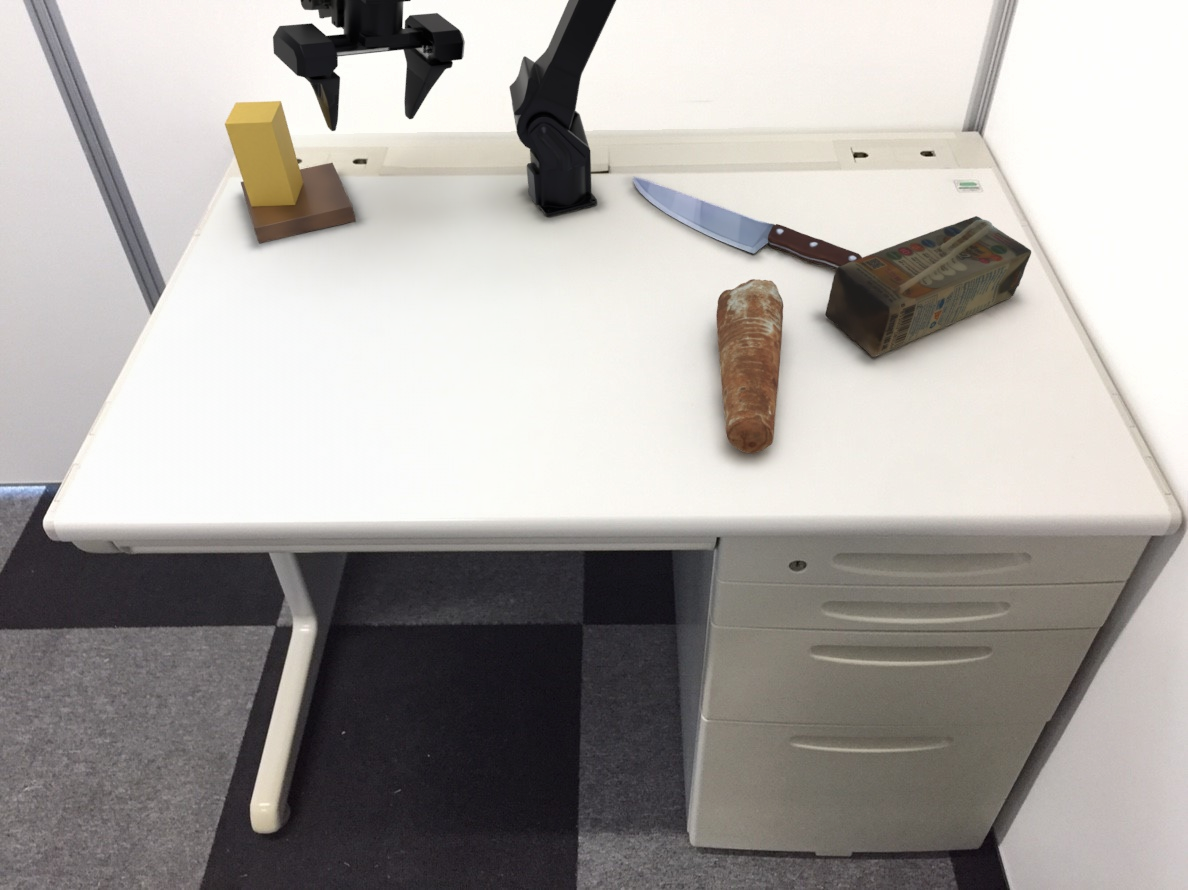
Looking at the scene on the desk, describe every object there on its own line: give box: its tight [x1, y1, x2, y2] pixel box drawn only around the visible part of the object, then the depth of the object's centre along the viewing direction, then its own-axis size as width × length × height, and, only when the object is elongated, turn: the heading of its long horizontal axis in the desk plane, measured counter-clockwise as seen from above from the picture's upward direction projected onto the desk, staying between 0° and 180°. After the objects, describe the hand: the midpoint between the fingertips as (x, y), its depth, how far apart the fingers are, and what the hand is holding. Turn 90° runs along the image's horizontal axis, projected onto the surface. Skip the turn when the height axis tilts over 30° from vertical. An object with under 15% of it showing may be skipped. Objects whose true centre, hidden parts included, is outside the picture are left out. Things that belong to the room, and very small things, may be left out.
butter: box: [224, 100, 303, 207], centre depth 103 cm, size 5×5×10 cm
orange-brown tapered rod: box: [715, 278, 784, 454], centre depth 83 cm, size 6×19×6 cm, turn 171°
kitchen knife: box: [632, 176, 863, 270], centre depth 102 cm, size 5×31×2 cm, turn 51°
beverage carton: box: [824, 215, 1032, 358], centre depth 90 cm, size 8×19×7 cm, turn 120°
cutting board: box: [240, 162, 356, 244], centre depth 107 cm, size 11×11×2 cm
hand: (371, 123), depth 98 cm, fingers open, 9 cm apart
